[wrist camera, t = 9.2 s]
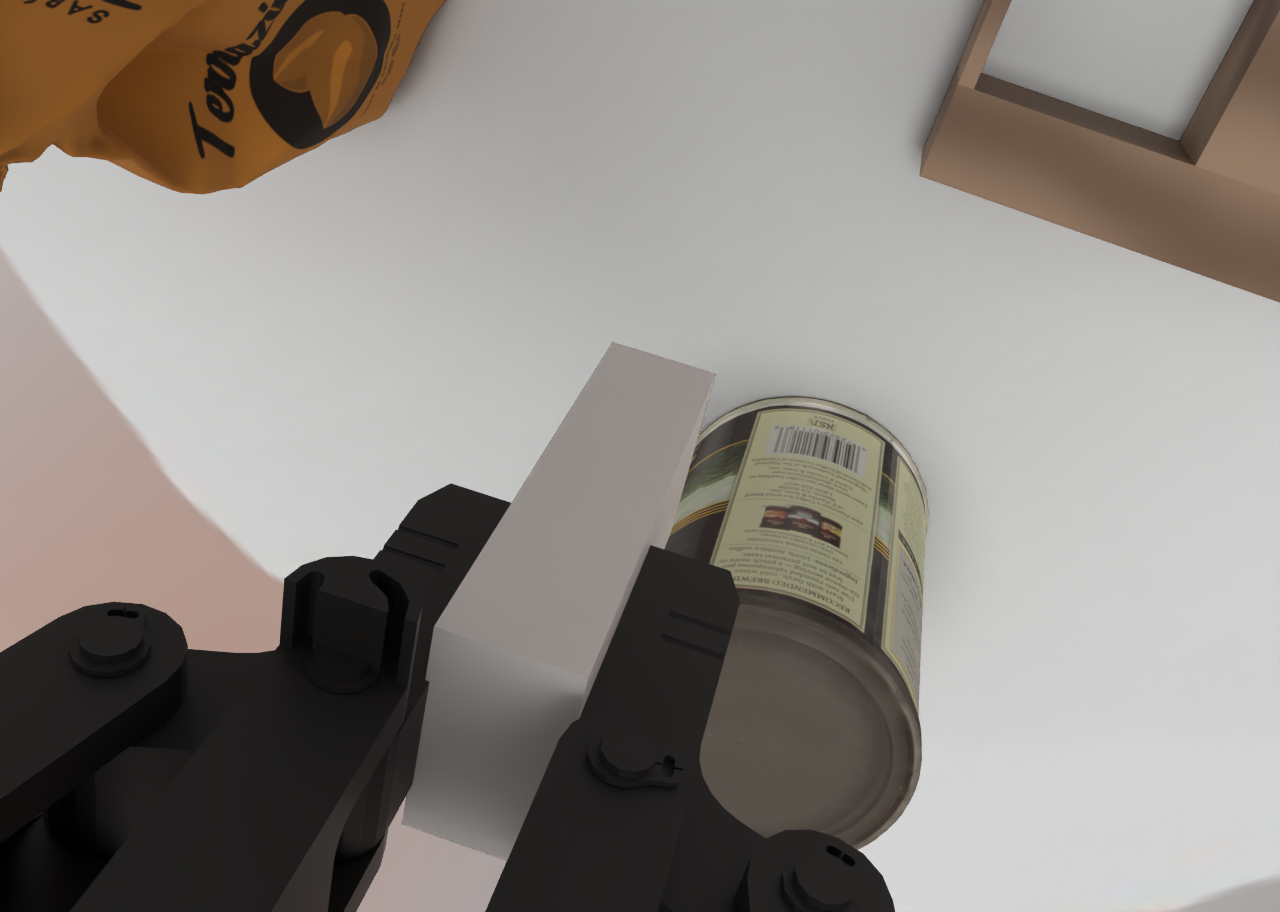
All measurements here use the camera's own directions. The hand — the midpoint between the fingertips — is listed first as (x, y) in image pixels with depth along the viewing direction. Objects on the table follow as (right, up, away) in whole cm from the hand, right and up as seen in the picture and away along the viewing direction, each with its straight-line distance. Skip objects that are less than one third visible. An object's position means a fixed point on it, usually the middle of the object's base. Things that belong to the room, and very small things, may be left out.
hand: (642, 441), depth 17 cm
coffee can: (+7, -2, +32) cm, 32 cm away
